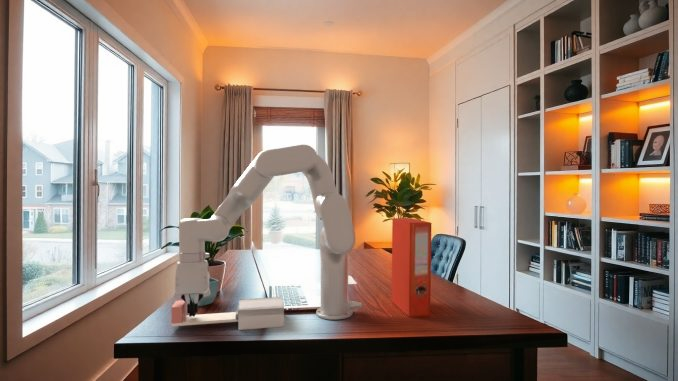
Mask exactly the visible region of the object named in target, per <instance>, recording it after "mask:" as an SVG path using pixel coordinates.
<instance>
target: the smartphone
mask: <svg viewBox="0 0 678 381" xmlns="http://www.w3.org/2000/svg"><path fill="white" fill-rule="evenodd" d="M357 284H358V283H357V281H356V280H355V279H354V278H353V277H352V275H348V286H349V285H351V286H352V285H357Z"/></svg>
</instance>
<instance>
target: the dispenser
mask: <svg viewBox="0 0 678 381" xmlns="http://www.w3.org/2000/svg"><path fill="white" fill-rule="evenodd" d="M235 312H236V320H238V321H237V322H238V324H237V325H238V326H237V327H238V330H239V331H240V330H241V331H242V330H243V331H245V330H253V329H267V328H280V327H285V306H284V302H283V299H282V296H273V297H256V298H254V297H253V298H243V299H239V300H238V306H237V307H236V310H235Z"/></svg>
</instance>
